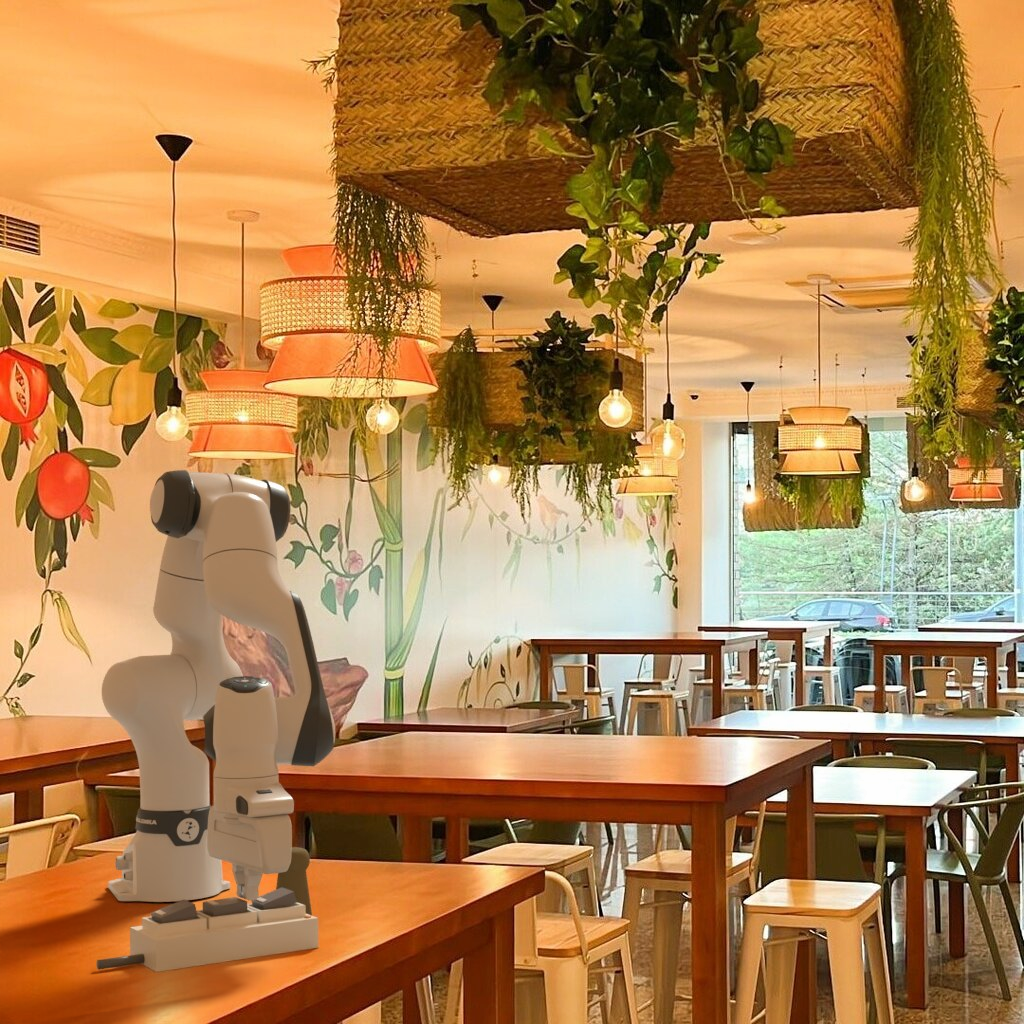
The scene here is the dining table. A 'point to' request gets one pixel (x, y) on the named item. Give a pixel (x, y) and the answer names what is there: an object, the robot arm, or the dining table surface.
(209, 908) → the rocker
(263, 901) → the rocker
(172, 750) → the robot arm
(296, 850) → the cork
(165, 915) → the rocker
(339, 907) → the dining table surface
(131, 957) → the switch strip
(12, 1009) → the dining table surface
